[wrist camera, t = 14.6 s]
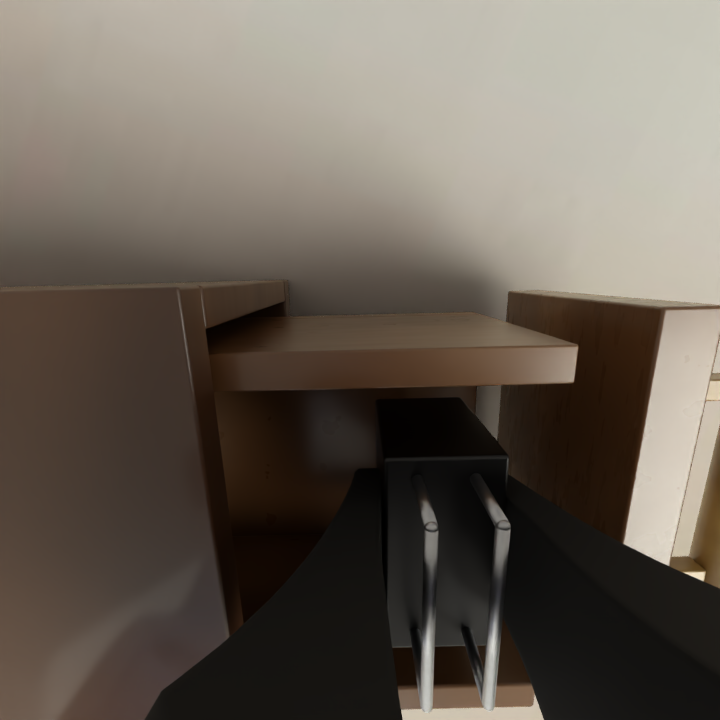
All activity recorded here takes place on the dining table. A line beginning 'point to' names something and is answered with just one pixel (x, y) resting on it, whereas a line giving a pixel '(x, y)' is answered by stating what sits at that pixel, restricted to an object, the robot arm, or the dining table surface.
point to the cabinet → (113, 493)
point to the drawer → (460, 379)
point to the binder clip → (443, 534)
